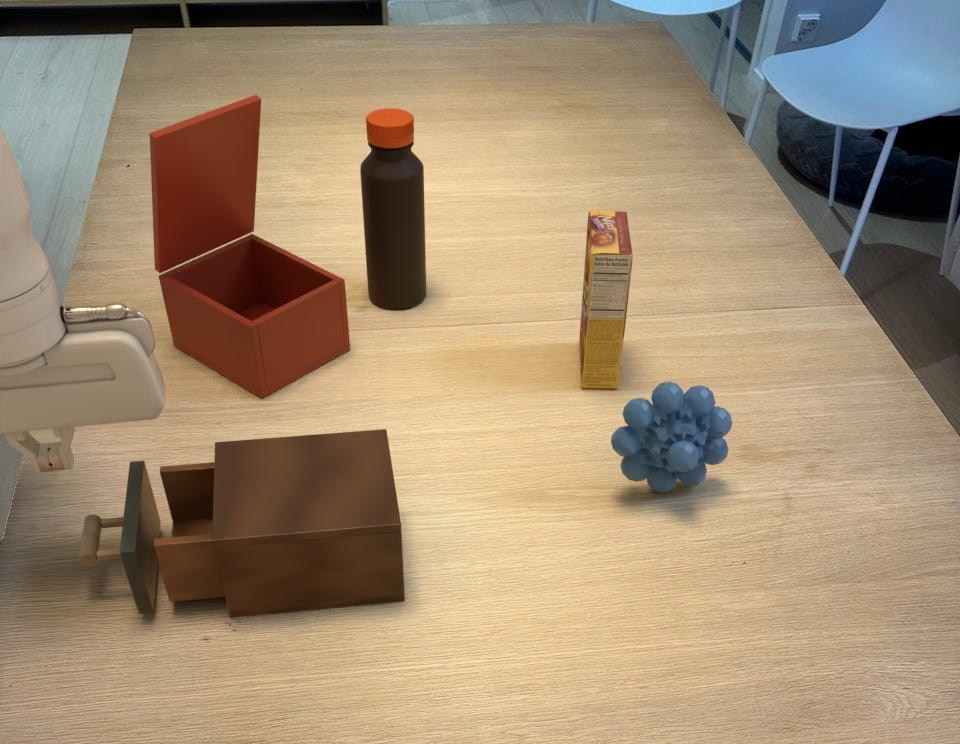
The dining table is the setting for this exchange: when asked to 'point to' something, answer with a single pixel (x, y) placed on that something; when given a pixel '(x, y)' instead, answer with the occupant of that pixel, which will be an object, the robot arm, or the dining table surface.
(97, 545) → the pulled out drawer
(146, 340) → the robot arm
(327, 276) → the chest
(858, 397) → the dining table surface
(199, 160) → the lid
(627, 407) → the blue knobbed flower
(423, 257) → the bottle
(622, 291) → the candy box
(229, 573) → the cabinet
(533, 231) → the dining table surface
